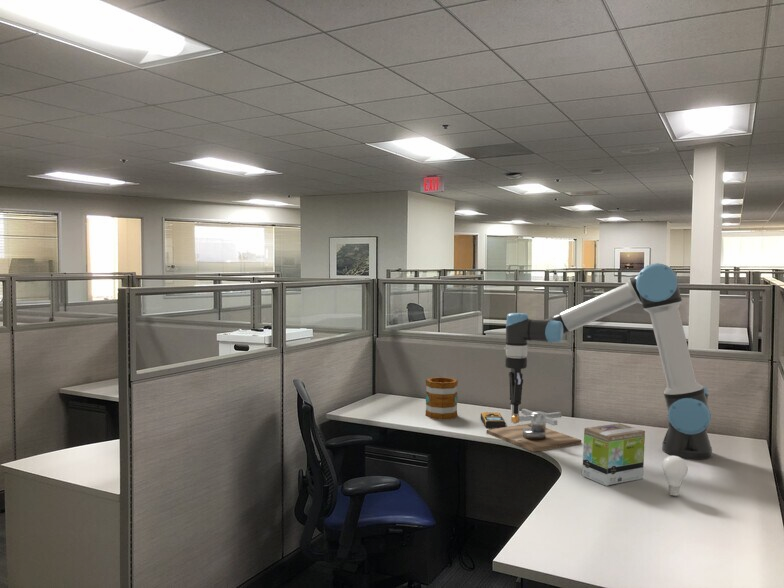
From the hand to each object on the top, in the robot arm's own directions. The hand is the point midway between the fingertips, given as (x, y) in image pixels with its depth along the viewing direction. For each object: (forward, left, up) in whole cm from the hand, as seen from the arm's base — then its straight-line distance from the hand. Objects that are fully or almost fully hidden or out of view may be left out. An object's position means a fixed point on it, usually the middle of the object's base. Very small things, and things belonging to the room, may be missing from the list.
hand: (514, 422), depth 214 cm
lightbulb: (-61, -5, -7) cm, 61 cm away
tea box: (-43, -2, -7) cm, 43 cm away
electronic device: (+24, -9, -8) cm, 27 cm away
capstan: (-3, -9, -5) cm, 11 cm away
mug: (+46, +1, -7) cm, 47 cm away
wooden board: (0, -9, -7) cm, 11 cm away
